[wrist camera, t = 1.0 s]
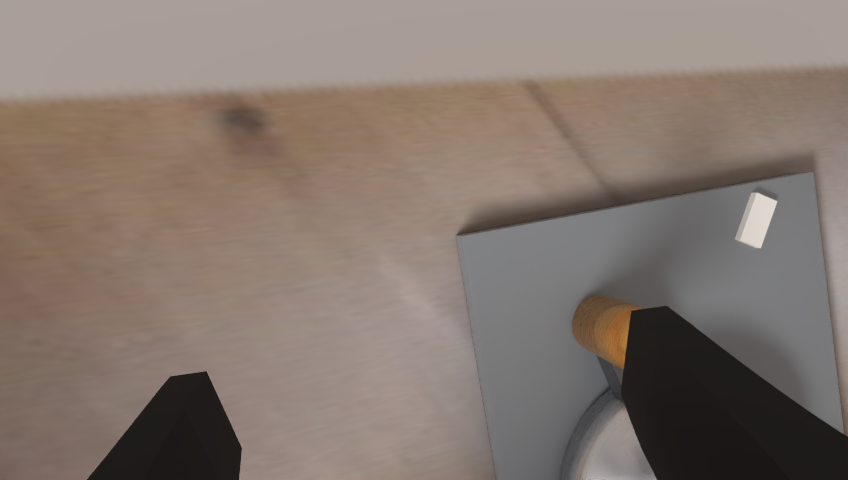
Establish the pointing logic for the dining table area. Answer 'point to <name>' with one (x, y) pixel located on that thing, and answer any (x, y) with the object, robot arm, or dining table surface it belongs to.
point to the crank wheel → (605, 400)
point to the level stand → (646, 303)
